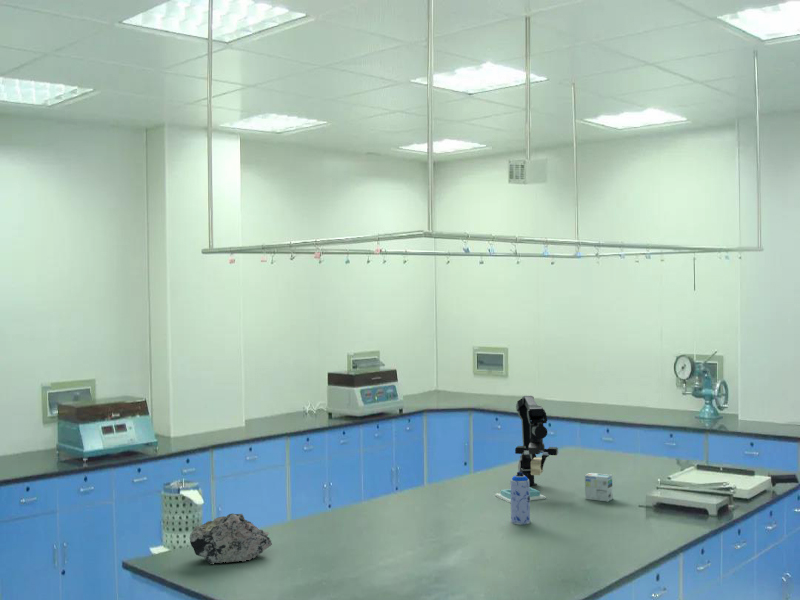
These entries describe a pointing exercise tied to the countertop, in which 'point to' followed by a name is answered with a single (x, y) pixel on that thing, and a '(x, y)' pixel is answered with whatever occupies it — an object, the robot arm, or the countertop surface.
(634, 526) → the countertop surface
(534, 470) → the key block
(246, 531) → the mineral sample
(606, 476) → the light bulb box
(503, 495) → the keyed cradle
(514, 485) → the aerosol can
